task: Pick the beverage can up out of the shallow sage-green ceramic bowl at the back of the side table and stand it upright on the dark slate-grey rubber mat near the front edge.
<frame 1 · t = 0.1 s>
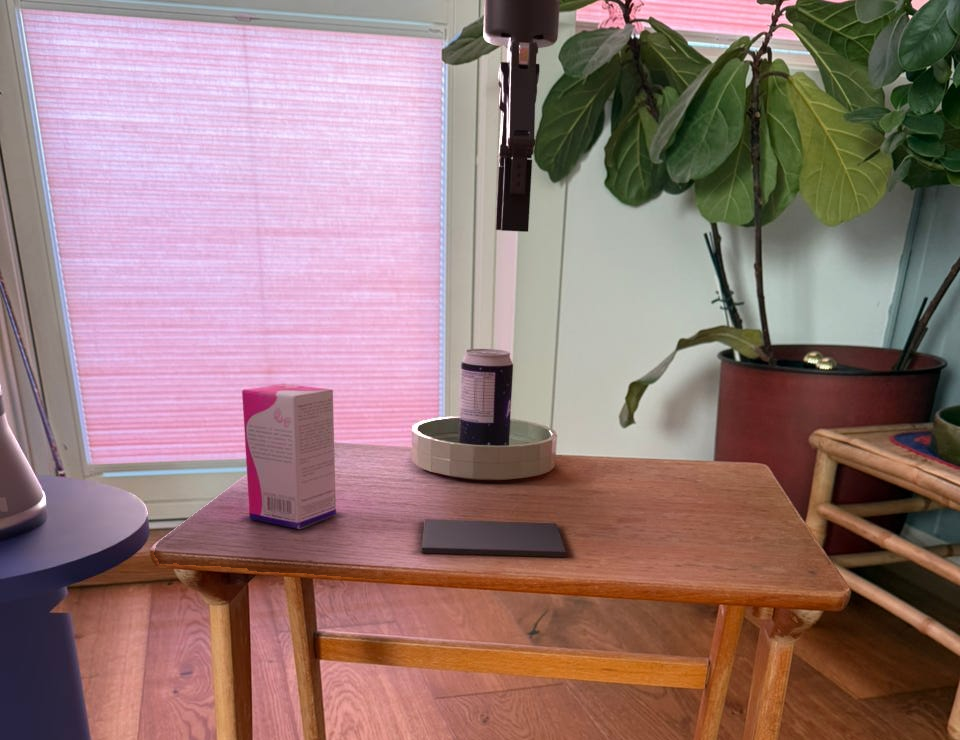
hand: (510, 231, 99), 24 cm above the table, tool pointing down, fingers open, 13 cm apart
beverage can: (483, 462, 104), resting on bowl
bowl: (483, 465, 104), on the table
supplement box: (293, 519, 83), on the table
mat: (492, 540, 79), on the table
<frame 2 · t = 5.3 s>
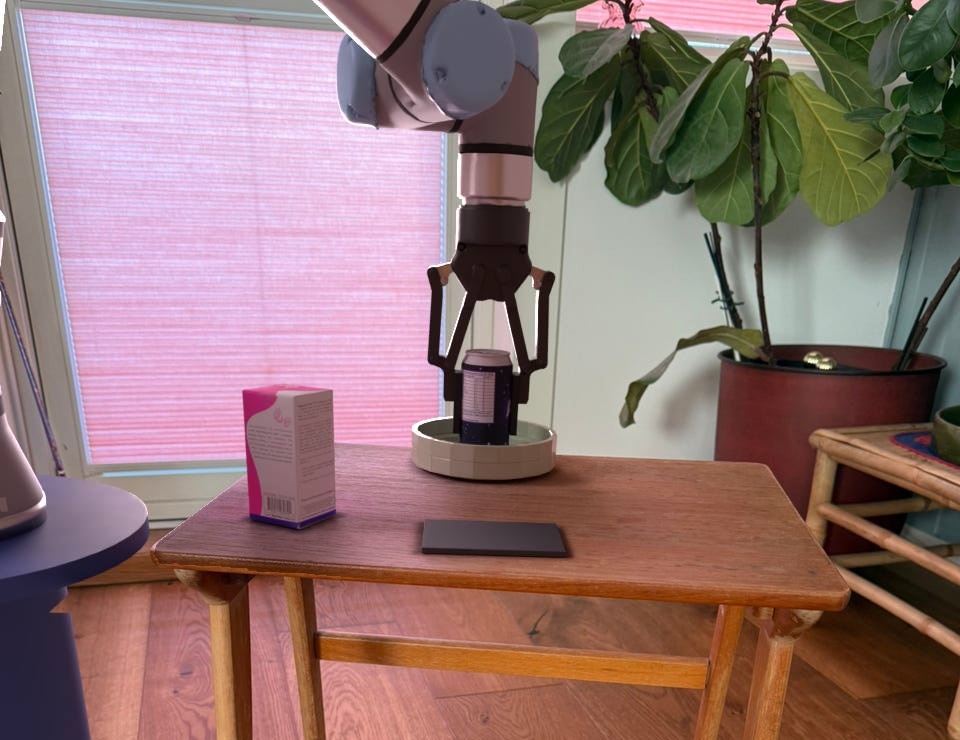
hand: (484, 431, 102), 4 cm above the table, tool pointing down, fingers closed on beverage can, 6 cm apart
beverage can: (483, 462, 104), resting on bowl, touching gripper
everything else where it was.
when the fingers open (4 cm above the table, at t = 13.4 s): beverage can stays where it is, resting on mat.
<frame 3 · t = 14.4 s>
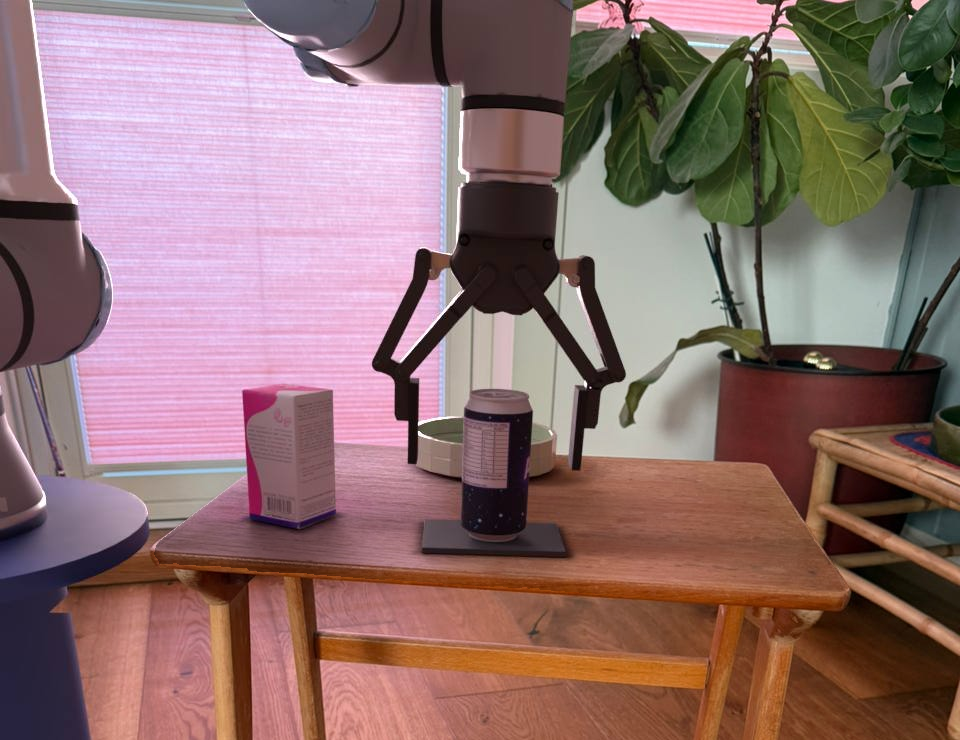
hand: (493, 464, 76), 7 cm above the table, tool pointing down, fingers open, 13 cm apart
beverage can: (492, 536, 79), resting on mat
everything else where it was.
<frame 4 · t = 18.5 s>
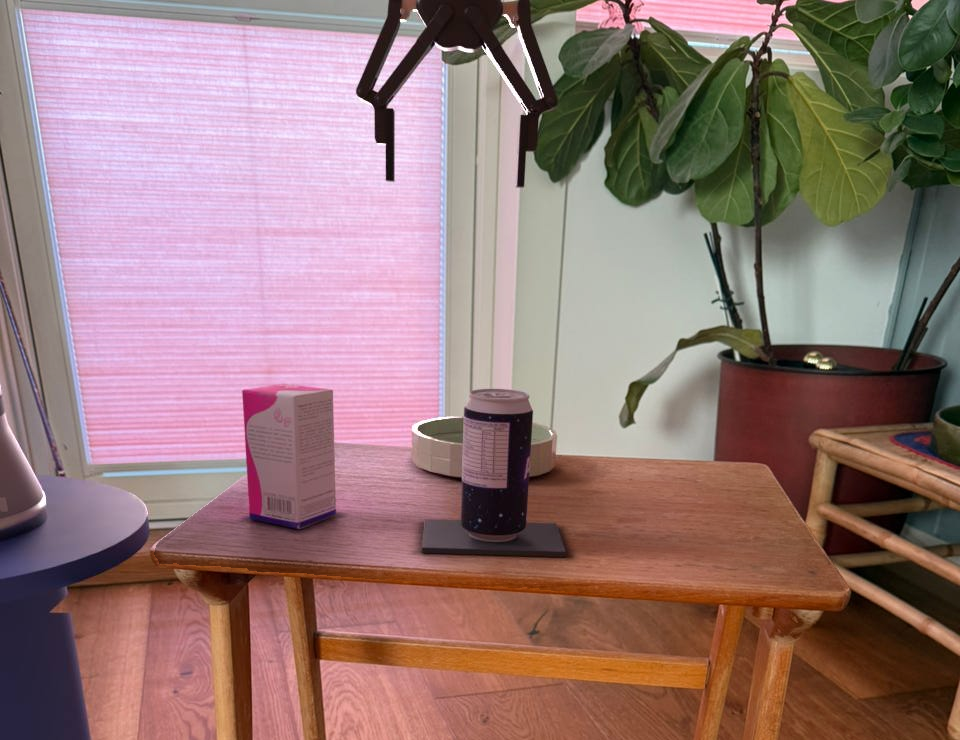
hand: (455, 184, 95), 29 cm above the table, tool pointing down, fingers open, 13 cm apart
nothing on the table moved.
at the end: beverage can 0.0 cm off-centre on the mat, point 0.3 cm above the mat's base; beverage can tilted 0°; beverage can touching mat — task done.
